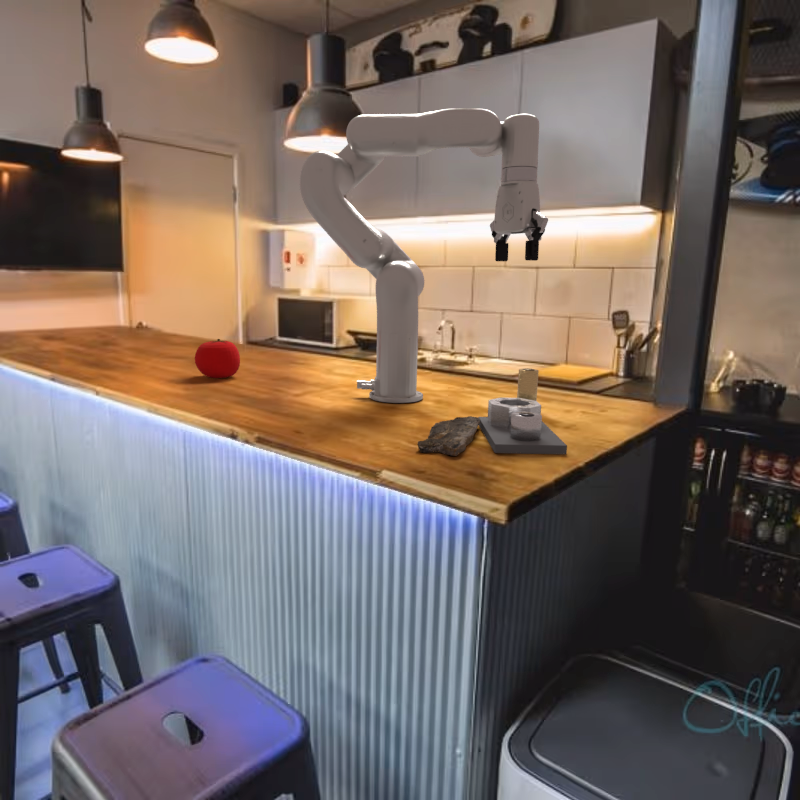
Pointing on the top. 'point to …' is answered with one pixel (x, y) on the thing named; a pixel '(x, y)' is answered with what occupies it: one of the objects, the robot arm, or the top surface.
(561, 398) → the top surface
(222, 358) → the tomato
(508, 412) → the sockets
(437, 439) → the rock
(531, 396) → the brass nipple
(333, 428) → the top surface
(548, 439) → the fitting board
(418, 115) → the robot arm
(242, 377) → the top surface
